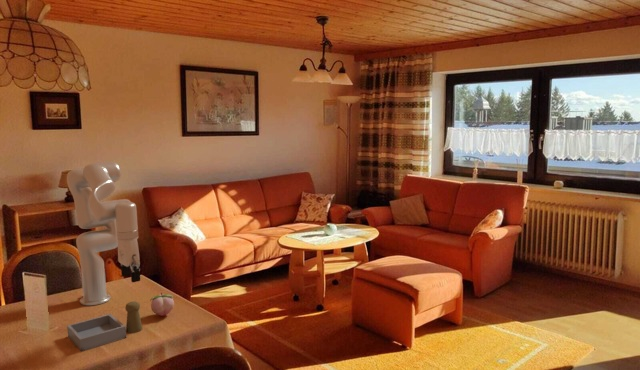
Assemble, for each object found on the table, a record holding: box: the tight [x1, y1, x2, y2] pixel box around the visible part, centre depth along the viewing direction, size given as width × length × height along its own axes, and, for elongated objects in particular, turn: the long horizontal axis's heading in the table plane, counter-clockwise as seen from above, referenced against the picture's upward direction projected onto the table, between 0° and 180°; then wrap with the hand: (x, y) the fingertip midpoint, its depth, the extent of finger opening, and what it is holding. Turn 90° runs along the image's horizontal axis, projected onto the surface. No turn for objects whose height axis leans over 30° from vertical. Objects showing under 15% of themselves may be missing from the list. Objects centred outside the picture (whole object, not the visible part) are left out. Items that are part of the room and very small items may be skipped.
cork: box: [125, 301, 143, 334], centre depth 195 cm, size 6×6×11 cm
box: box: [66, 313, 127, 352], centre depth 189 cm, size 16×16×4 cm
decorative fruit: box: [150, 292, 175, 317], centre depth 208 cm, size 9×8×10 cm
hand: (130, 278), depth 193 cm, fingers open, 9 cm apart
